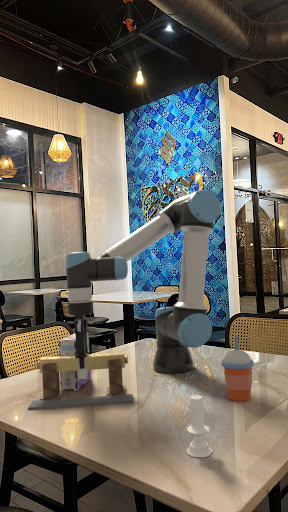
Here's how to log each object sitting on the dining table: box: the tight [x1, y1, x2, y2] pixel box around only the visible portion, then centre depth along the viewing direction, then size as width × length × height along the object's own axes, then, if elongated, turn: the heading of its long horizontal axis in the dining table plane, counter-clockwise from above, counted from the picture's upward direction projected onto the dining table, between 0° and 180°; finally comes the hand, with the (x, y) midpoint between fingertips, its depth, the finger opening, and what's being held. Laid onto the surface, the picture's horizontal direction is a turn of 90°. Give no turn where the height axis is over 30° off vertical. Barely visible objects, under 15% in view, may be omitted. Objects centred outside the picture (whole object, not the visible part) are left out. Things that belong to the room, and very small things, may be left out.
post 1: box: [39, 364, 65, 400], centre depth 129 cm, size 6×8×10 cm
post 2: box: [105, 360, 127, 396], centre depth 130 cm, size 6×8×10 cm
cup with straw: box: [221, 334, 255, 402], centre depth 119 cm, size 9×9×18 cm
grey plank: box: [27, 393, 134, 411], centre depth 122 cm, size 30×6×1 cm, turn 93°
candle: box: [186, 394, 213, 459], centre depth 87 cm, size 5×5×12 cm
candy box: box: [58, 332, 92, 392], centre depth 140 cm, size 14×6×16 cm, turn 168°
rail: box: [36, 351, 129, 374], centre depth 129 cm, size 28×4×4 cm, turn 93°
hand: (83, 376), depth 129 cm, fingers closed on rail, 3 cm apart
